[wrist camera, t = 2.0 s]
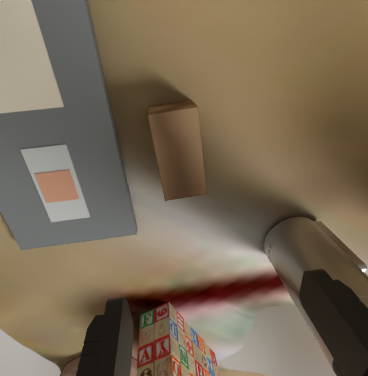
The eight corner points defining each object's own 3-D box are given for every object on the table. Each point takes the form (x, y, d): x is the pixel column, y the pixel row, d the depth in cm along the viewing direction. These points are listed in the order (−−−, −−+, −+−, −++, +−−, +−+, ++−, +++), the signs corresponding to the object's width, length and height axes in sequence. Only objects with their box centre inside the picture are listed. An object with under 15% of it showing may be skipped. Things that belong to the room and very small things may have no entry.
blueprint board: (45, -190, 17) (34, -215, 16) (137, 227, 35) (136, 235, 34) (-193, -182, 17) (-230, -208, 15) (26, 242, 35) (19, 251, 33)
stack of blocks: (215, 352, 54) (230, 425, 43) (190, 362, 55) (199, 436, 44) (168, 300, 44) (172, 378, 33) (139, 313, 45) (134, 394, 34)
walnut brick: (191, 99, 28) (197, 107, 24) (199, 175, 33) (206, 193, 28) (148, 106, 28) (147, 115, 24) (163, 182, 33) (165, 201, 28)
